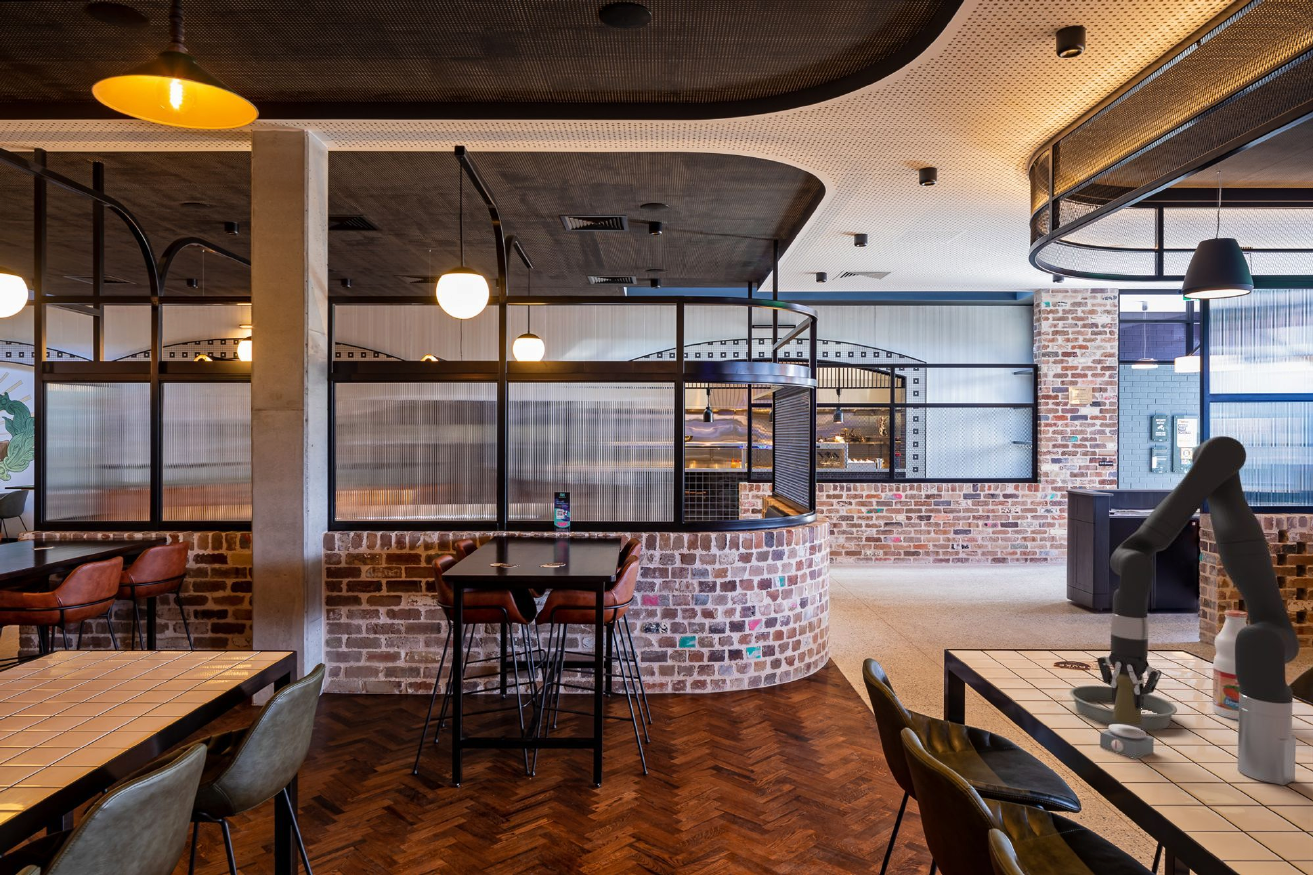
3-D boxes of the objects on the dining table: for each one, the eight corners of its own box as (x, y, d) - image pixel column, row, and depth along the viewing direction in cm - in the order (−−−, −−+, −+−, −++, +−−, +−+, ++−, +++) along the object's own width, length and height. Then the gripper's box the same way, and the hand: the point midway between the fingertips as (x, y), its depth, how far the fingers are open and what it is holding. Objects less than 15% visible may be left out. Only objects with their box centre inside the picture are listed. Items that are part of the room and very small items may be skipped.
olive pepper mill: (1114, 713, 185) (1116, 667, 185) (1144, 719, 181) (1145, 673, 181) (1110, 720, 181) (1111, 673, 181) (1140, 726, 177) (1141, 679, 177)
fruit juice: (1237, 709, 212) (1239, 608, 212) (1265, 721, 202) (1267, 616, 203) (1203, 708, 212) (1206, 607, 212) (1229, 721, 202) (1231, 615, 203)
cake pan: (1176, 713, 208) (1177, 696, 208) (1176, 740, 188) (1177, 722, 188) (1074, 694, 222) (1074, 679, 222) (1064, 718, 202) (1064, 701, 202)
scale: (1153, 752, 179) (1153, 732, 179) (1134, 759, 175) (1135, 739, 175) (1117, 740, 186) (1118, 721, 186) (1099, 747, 182) (1099, 727, 182)
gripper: (1170, 639, 177) (1168, 713, 177) (1107, 625, 189) (1105, 695, 189) (1153, 643, 173) (1151, 719, 173) (1090, 628, 185) (1088, 699, 185)
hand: (1127, 706), depth 181 cm, fingers closed on olive pepper mill, 4 cm apart
